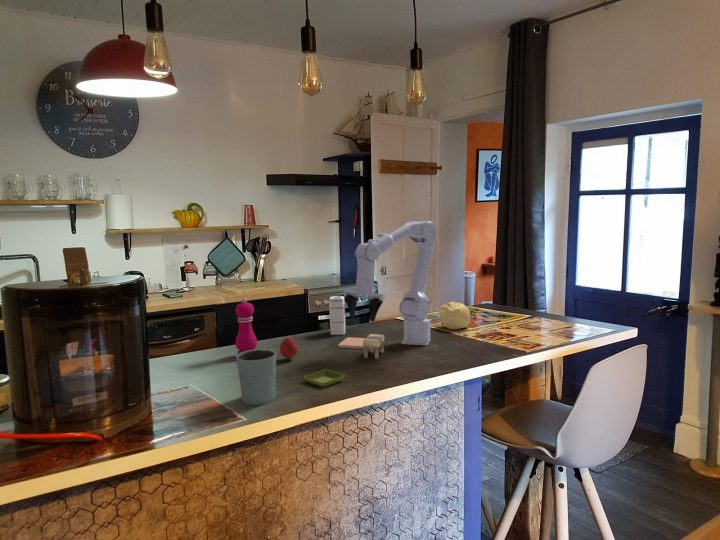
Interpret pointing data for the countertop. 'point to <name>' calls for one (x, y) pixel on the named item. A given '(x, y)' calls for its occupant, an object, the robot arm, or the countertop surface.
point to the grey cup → (257, 375)
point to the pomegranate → (288, 348)
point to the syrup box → (337, 315)
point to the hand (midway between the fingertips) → (362, 319)
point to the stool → (373, 344)
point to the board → (353, 343)
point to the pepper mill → (245, 327)
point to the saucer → (324, 378)
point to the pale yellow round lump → (454, 315)
